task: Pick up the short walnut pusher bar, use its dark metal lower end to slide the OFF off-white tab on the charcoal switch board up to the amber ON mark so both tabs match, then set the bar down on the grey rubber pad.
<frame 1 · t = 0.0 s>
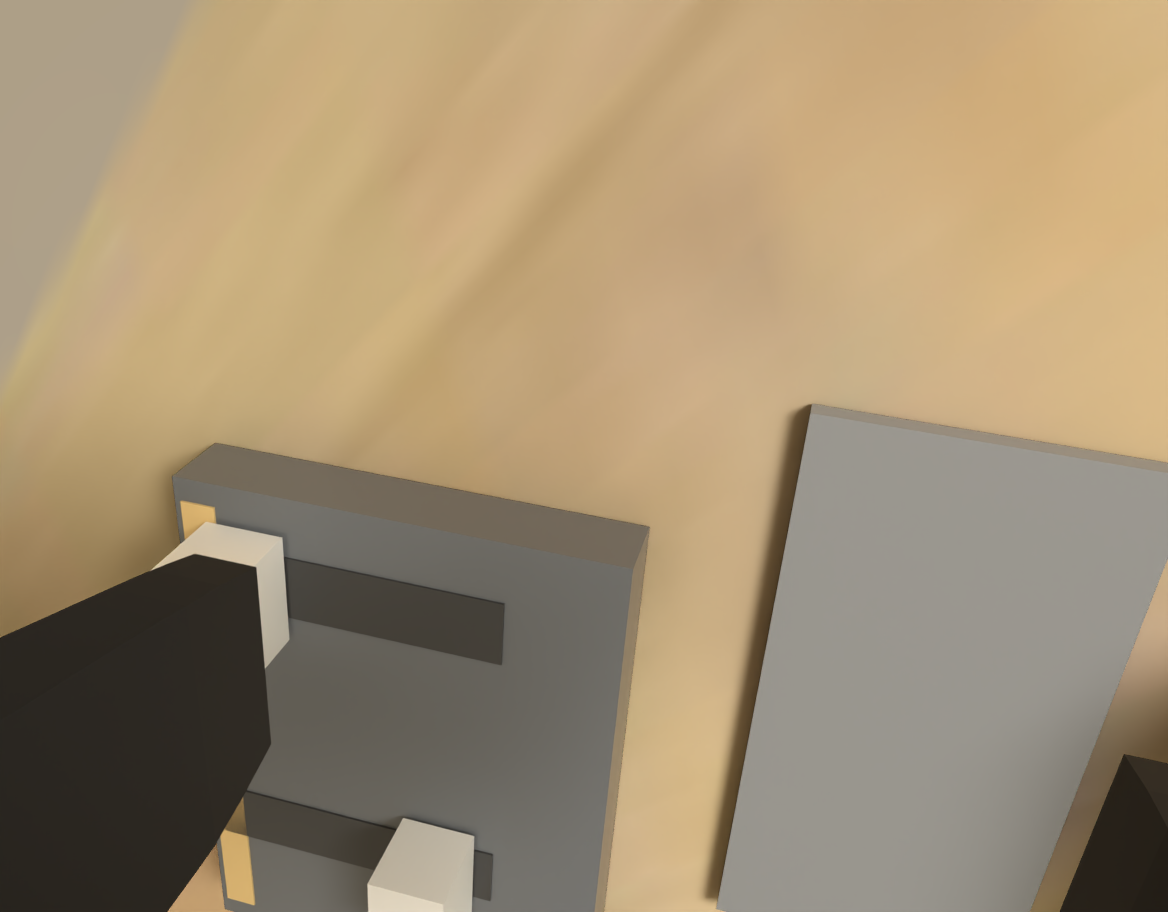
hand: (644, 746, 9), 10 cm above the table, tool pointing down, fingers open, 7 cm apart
switch board: (422, 720, 23), on the table
tab a: (223, 607, 20), point 2 cm above the table, slide at 4.0 cm
tab b: (422, 899, 22), point 2 cm above the table, slide at 0.0 cm
tool pad: (916, 716, 20), on the table
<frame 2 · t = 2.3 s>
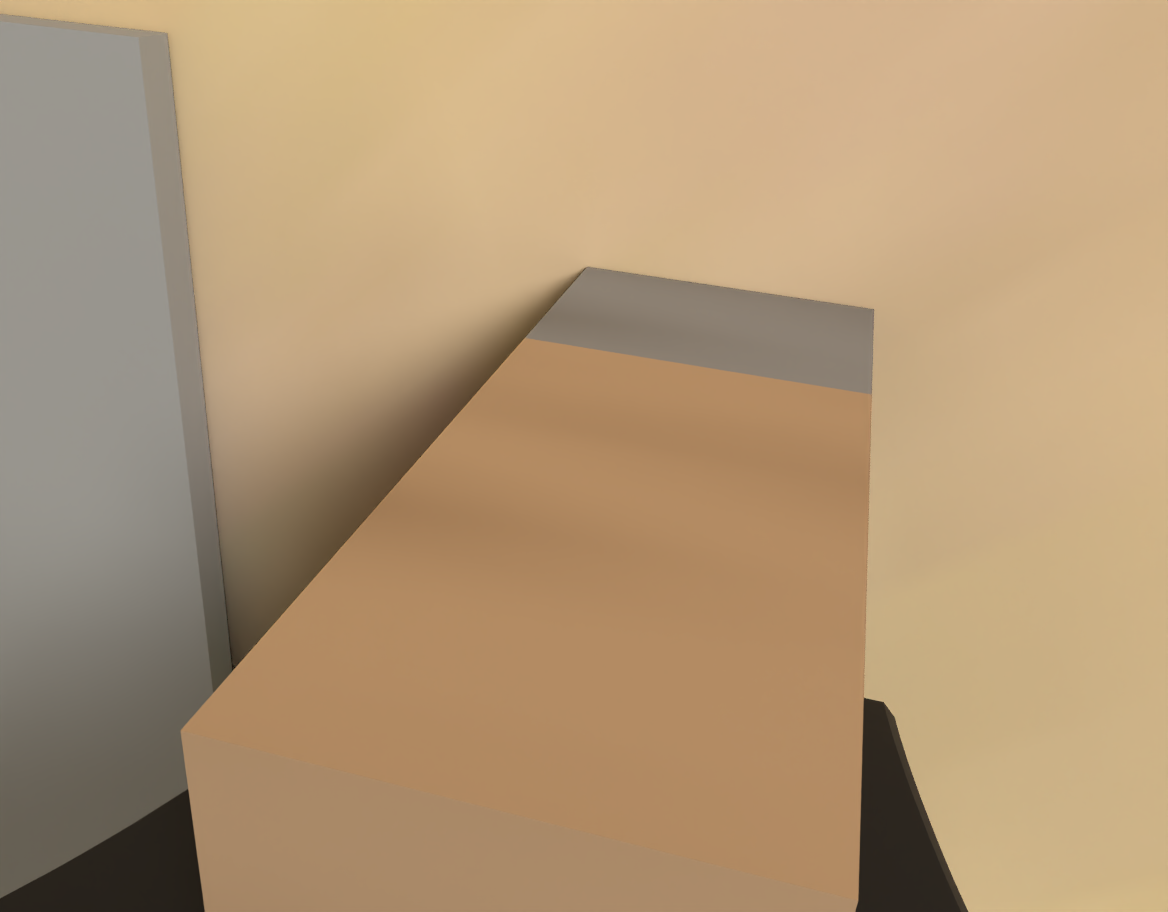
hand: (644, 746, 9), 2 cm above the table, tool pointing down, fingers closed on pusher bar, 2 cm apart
pusher bar: (678, 628, 10), on the table, touching gripper
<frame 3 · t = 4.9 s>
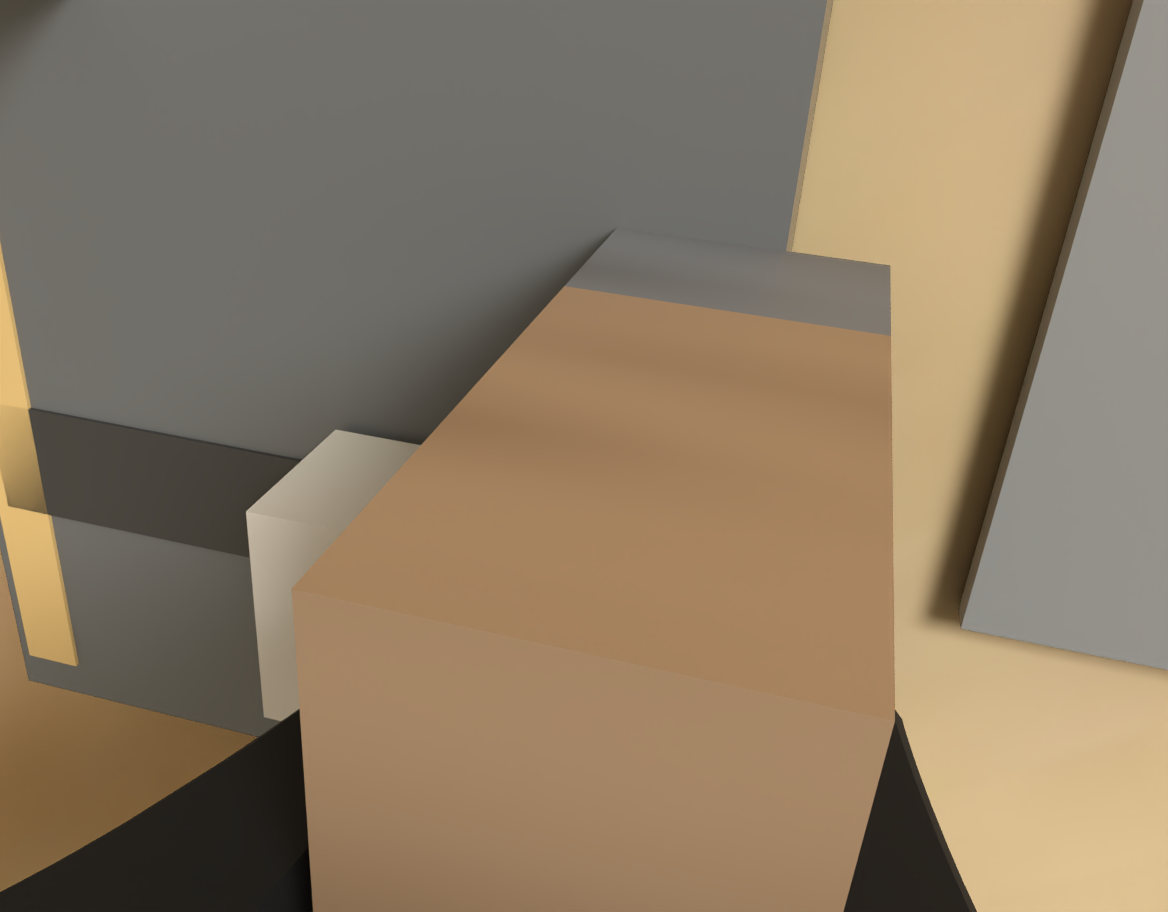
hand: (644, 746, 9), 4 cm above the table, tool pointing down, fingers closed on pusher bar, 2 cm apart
pusher bar: (701, 578, 11), point 1 cm above the table, touching gripper, switch board
switch board: (379, 264, 12), on the table
tab b: (373, 585, 11), point 3 cm above the table, slide at 0.0 cm
when the fingers open (4 cm above the table, at t = 5.1 s): pusher bar moves 1 cm and tips over, resting on switch board, tab b.
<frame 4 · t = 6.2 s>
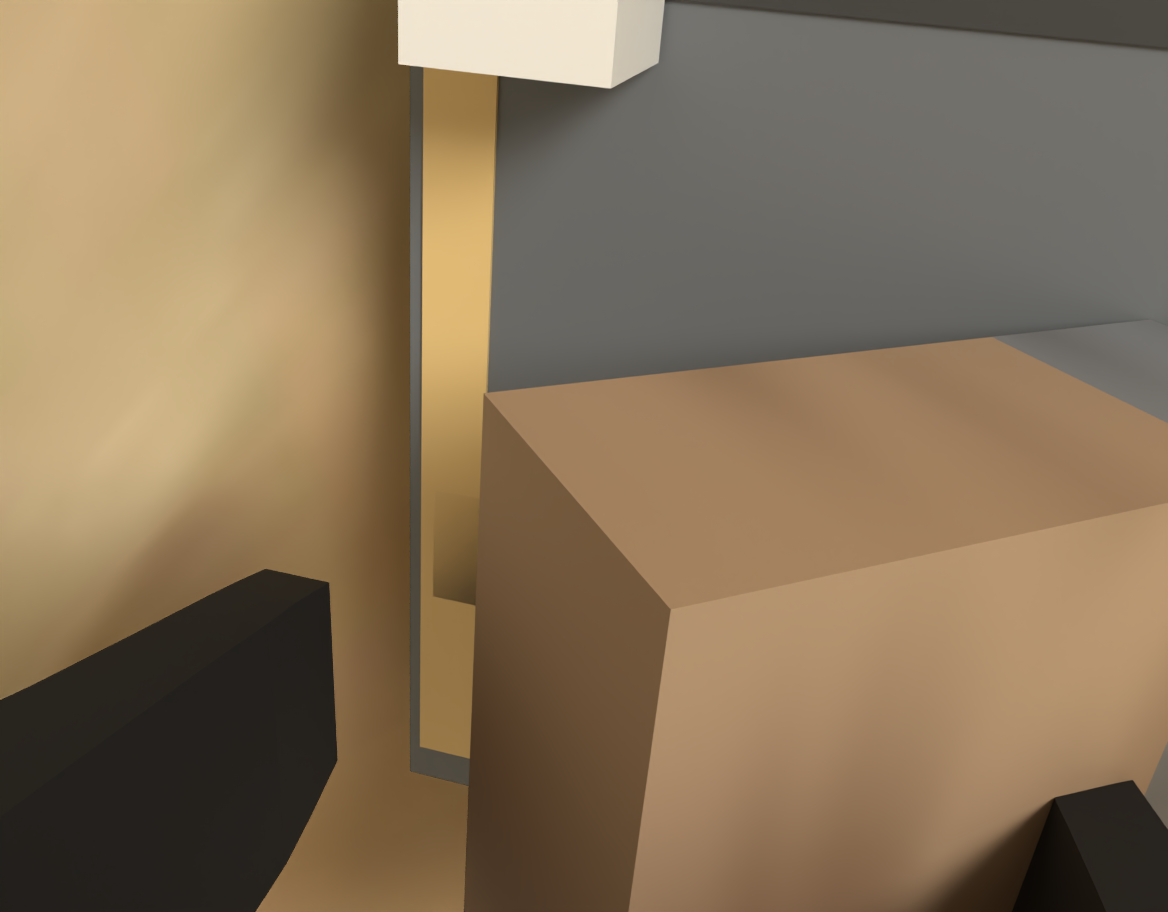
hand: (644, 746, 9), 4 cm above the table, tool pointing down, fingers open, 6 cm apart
pusher bar: (1137, 728, 10), point 2 cm above the table, tilted 51°, touching gripper, switch board, tab b
switch board: (861, 348, 11), on the table
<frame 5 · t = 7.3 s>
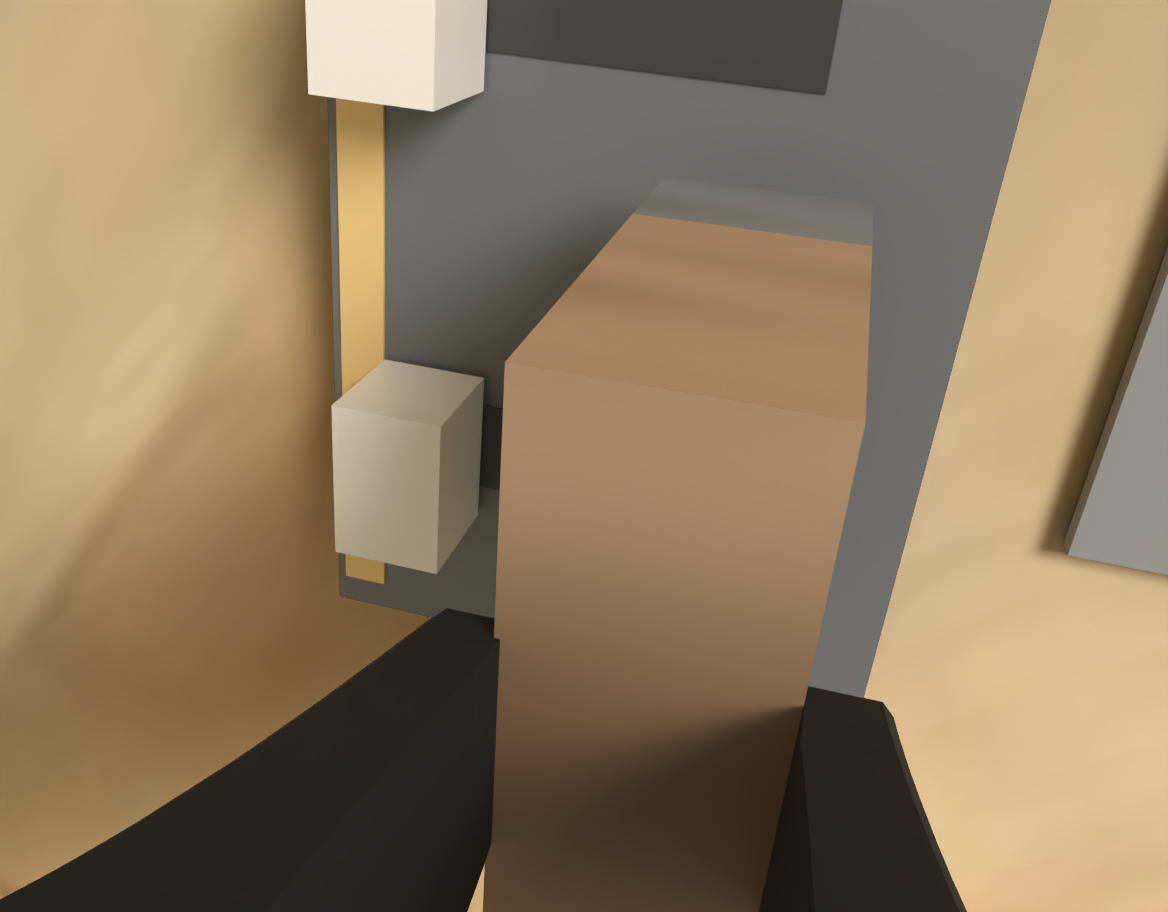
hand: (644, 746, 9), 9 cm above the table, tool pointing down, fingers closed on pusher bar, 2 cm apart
pusher bar: (726, 458, 14), point 3 cm above the table, touching gripper
switch board: (645, 285, 16), on the table
tab b: (410, 464, 16), point 2 cm above the table, slide at 3.8 cm
when the fingers open (3 cm above the table, at t = 9.1 s): pusher bar stays where it is, resting on tool pad.
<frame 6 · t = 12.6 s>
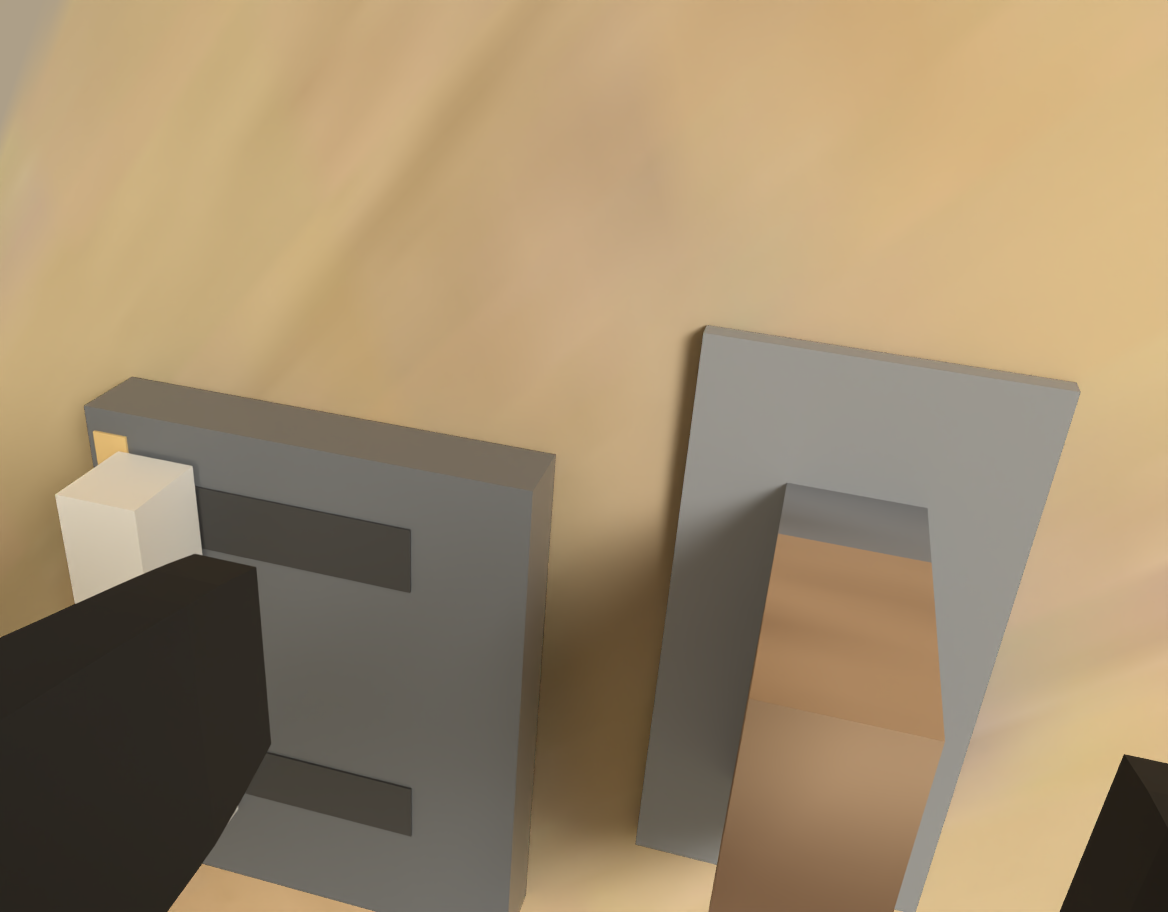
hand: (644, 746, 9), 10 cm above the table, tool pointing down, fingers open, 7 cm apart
pusher bar: (820, 656, 20), resting on tool pad
switch board: (344, 657, 24), on the table
tab a: (134, 534, 20), point 2 cm above the table, slide at 4.0 cm
tab b: (178, 790, 23), point 2 cm above the table, slide at 3.8 cm
tool pad: (821, 643, 20), on the table
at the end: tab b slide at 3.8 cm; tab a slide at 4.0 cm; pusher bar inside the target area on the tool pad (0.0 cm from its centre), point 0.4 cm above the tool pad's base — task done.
